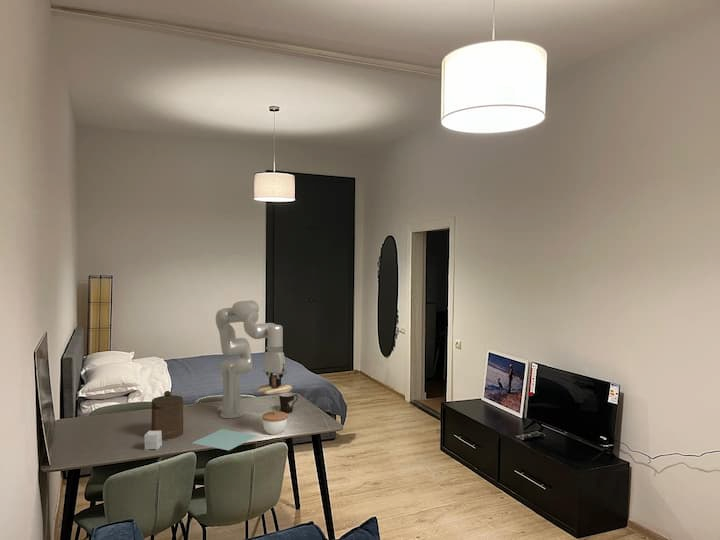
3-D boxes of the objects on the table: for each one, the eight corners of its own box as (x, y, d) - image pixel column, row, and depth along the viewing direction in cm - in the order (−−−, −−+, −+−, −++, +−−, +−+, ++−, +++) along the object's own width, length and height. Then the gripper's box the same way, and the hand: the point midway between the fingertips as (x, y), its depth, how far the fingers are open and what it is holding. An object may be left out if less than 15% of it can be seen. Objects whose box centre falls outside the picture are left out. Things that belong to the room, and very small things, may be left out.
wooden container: (172, 428, 275) (172, 386, 274) (189, 434, 266) (189, 390, 265) (145, 435, 264) (145, 391, 263) (161, 442, 254) (161, 397, 254)
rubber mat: (191, 443, 253) (191, 442, 253) (221, 429, 273) (221, 429, 273) (228, 451, 244) (228, 450, 244) (257, 436, 264) (257, 435, 264)
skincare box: (162, 445, 250) (162, 430, 250) (157, 450, 244) (157, 434, 244) (149, 445, 250) (148, 430, 250) (144, 450, 244) (144, 434, 244)
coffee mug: (281, 414, 299) (281, 397, 299) (277, 410, 307) (277, 393, 307) (301, 412, 303) (301, 395, 303) (297, 408, 311) (297, 391, 311)
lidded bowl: (282, 438, 261) (282, 415, 261) (258, 436, 264) (258, 414, 264) (290, 429, 274) (291, 408, 273) (267, 428, 276) (267, 407, 276)
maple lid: (250, 392, 264) (250, 377, 264) (270, 384, 279) (270, 370, 279) (280, 396, 257) (280, 381, 257) (298, 388, 272) (298, 374, 272)
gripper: (257, 349, 268) (257, 385, 268) (284, 352, 261) (284, 389, 261) (265, 347, 274) (265, 382, 275) (293, 349, 267) (293, 386, 268)
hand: (275, 385), depth 268 cm, fingers closed on maple lid, 3 cm apart
